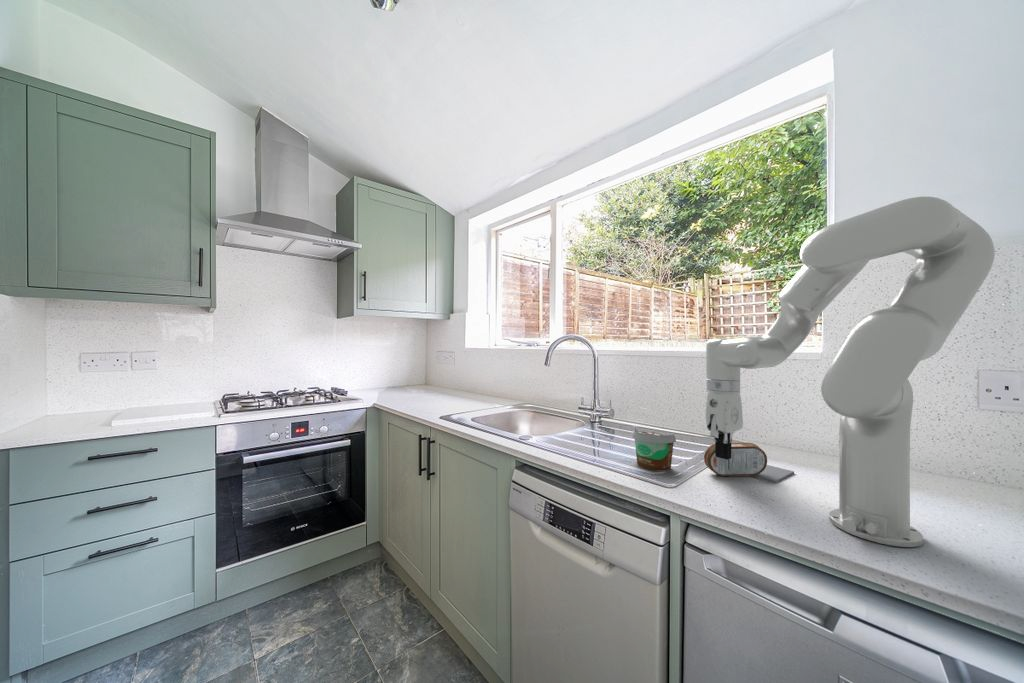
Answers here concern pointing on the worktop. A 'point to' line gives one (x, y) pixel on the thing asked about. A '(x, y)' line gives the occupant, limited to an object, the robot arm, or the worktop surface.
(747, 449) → the tin
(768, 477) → the mat
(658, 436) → the food container
